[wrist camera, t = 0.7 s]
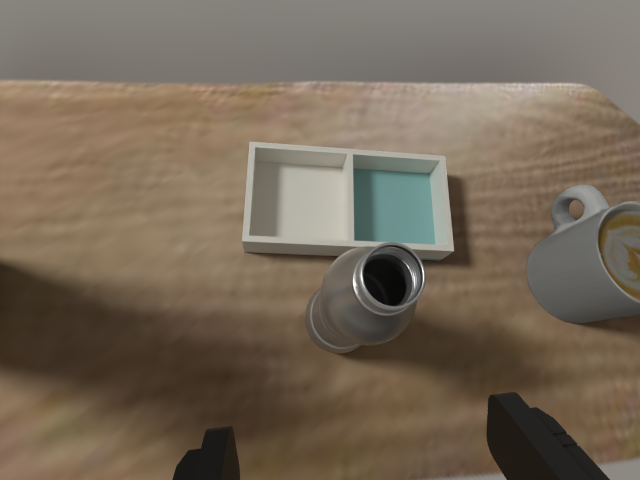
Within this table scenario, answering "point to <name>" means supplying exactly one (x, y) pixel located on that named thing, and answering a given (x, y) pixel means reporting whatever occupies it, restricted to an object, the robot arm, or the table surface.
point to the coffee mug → (588, 259)
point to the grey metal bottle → (365, 297)
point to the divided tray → (345, 201)
